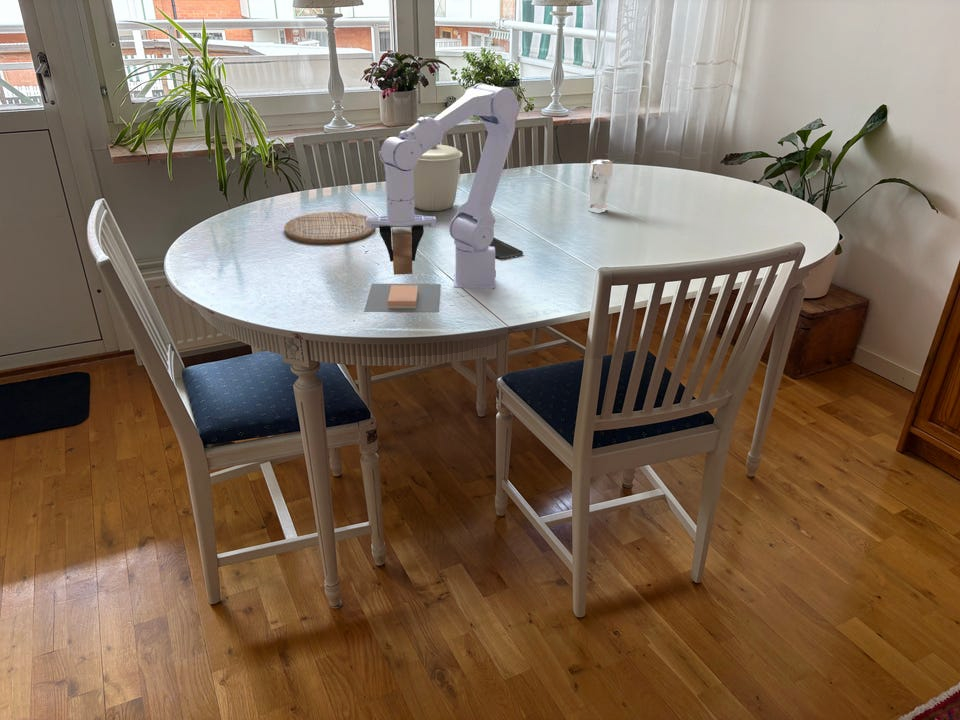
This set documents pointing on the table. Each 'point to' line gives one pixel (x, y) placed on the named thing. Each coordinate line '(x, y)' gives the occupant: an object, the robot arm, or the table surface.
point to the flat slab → (403, 296)
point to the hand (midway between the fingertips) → (402, 259)
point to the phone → (504, 249)
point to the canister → (436, 178)
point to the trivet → (328, 228)
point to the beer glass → (599, 182)
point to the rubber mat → (425, 303)
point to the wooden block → (402, 250)
